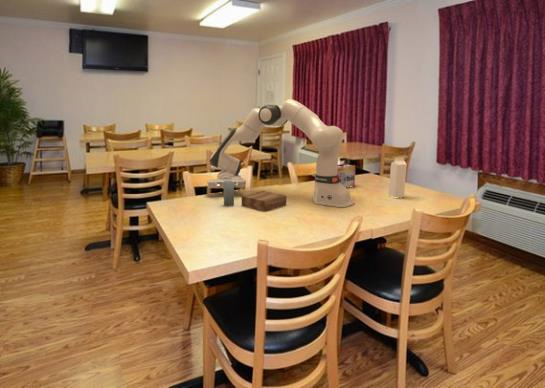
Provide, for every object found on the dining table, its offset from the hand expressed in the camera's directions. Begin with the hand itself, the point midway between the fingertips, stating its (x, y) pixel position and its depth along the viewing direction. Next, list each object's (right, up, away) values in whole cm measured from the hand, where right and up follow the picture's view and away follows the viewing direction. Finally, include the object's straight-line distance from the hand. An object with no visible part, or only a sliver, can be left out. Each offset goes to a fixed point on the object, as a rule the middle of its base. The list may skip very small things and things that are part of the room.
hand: (227, 186), depth 207 cm
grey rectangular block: (+2, -10, -10) cm, 14 cm away
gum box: (+64, 0, +31) cm, 71 cm away
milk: (+93, -6, +9) cm, 93 cm away
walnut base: (+20, -10, -11) cm, 25 cm away
